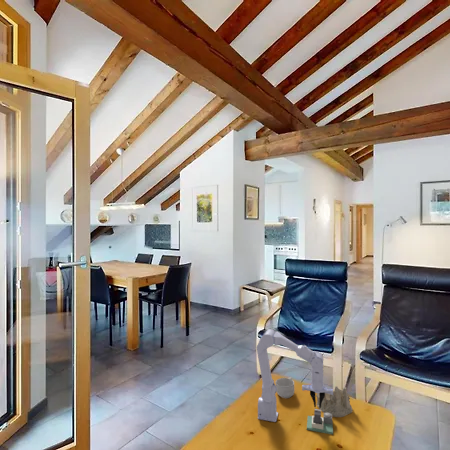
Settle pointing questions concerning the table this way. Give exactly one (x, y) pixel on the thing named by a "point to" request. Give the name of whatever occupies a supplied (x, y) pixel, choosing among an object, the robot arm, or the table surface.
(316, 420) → the plug
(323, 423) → the board
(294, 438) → the table surface
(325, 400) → the grey jagged lump
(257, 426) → the table surface
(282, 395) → the teacup
